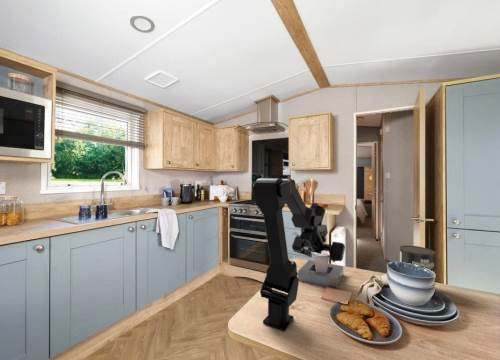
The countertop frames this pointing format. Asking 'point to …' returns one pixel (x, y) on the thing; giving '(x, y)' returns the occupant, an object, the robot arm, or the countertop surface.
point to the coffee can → (418, 256)
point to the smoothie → (321, 261)
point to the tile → (336, 295)
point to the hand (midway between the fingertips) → (322, 258)
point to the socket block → (321, 275)
